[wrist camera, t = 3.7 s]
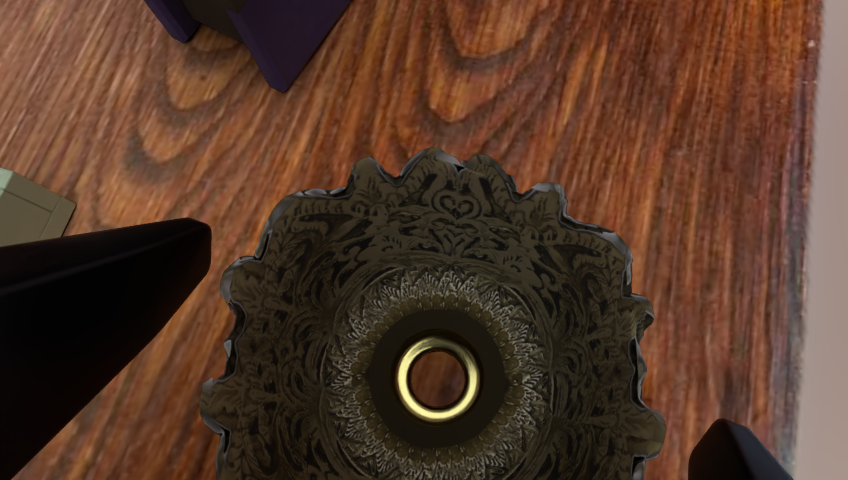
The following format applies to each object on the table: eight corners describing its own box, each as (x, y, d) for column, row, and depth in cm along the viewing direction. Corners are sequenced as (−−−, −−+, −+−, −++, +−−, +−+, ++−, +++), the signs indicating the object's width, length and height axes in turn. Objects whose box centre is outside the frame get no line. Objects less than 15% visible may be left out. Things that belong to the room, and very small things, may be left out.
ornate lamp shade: (556, 533, 15) (675, 677, 7) (295, 498, 15) (142, 597, 8) (566, 270, 17) (667, 163, 9) (336, 248, 17) (250, 127, 10)
